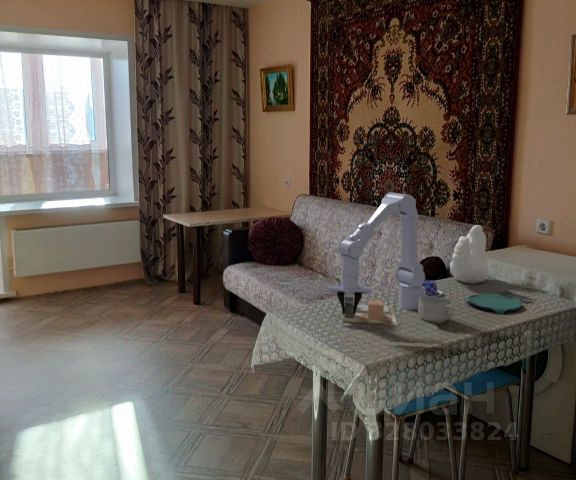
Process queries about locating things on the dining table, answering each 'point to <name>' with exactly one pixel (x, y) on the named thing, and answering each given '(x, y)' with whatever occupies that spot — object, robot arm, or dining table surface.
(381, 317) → the terracotta cube
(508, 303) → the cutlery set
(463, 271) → the decorative rooster
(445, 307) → the teacup
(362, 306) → the grey strip
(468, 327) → the dining table surface
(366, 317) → the tan shallow tray
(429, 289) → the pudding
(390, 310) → the lane board
